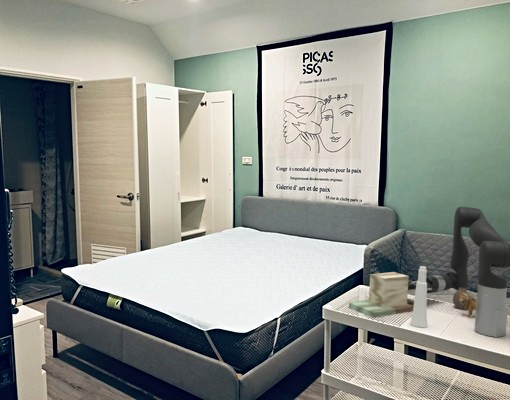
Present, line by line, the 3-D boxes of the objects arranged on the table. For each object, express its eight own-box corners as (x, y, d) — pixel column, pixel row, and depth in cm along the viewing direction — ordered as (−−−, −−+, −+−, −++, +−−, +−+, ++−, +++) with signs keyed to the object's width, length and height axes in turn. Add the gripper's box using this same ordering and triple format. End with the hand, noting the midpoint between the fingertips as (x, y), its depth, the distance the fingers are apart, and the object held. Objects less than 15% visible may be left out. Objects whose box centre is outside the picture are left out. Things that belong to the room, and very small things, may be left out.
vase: (454, 309, 188) (455, 289, 187) (450, 305, 194) (452, 285, 194) (471, 311, 186) (473, 291, 186) (467, 306, 193) (469, 287, 192)
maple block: (406, 304, 184) (408, 276, 184) (383, 308, 177) (384, 278, 177) (392, 299, 191) (393, 272, 191) (368, 302, 184) (370, 274, 183)
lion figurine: (455, 314, 180) (457, 293, 180) (460, 312, 184) (462, 291, 183) (495, 324, 170) (497, 301, 169) (499, 321, 174) (501, 299, 173)
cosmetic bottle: (409, 321, 168) (413, 264, 167) (426, 323, 167) (430, 266, 165) (410, 326, 162) (415, 267, 161) (428, 328, 161) (432, 269, 160)
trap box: (425, 309, 186) (425, 304, 186) (373, 317, 171) (374, 312, 171) (399, 300, 198) (399, 295, 198) (348, 307, 183) (349, 302, 183)
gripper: (420, 272, 203) (394, 275, 195) (446, 279, 192) (419, 282, 183) (419, 288, 204) (393, 292, 195) (444, 296, 193) (418, 300, 184)
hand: (406, 287), depth 189 cm, fingers closed
